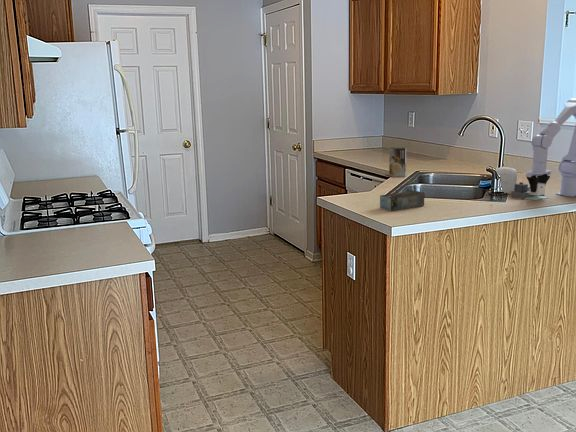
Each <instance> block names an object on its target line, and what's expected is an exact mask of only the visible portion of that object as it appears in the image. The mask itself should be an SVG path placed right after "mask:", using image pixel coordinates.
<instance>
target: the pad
mask: <svg viewBox="0 0 576 432" xmlns="http://www.w3.org/2000/svg"><path fill="white" fill-rule="evenodd" d="M525 199H527V200H531V201H539V200H544V199H545V200H546V199H549V197H548V196H545V195H544V196H532V197H526V198H525ZM525 199H524V200H525Z"/></svg>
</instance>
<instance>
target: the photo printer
mask: <svg viewBox="0 0 576 432" xmlns="http://www.w3.org/2000/svg"><path fill="white" fill-rule="evenodd" d="M495 171H497V172H498V173H499V174H500V177H501V186H502V190H503V192H504V193H503V194H506V193H507V195H508V194H509V195H511V191H514V187H515V184H517V182H518V181H517V179H518V170H517V169H515V168H512V167H507V166H506V167H505V166H502V167H497V168H495V170H494V172H495Z"/></svg>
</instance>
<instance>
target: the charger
mask: <svg viewBox="0 0 576 432" xmlns="http://www.w3.org/2000/svg"><path fill="white" fill-rule="evenodd" d="M545 187H546V185H545V184H544V183H538V184H537V190H536V192H531V189H530V188H529V194H531V195H537V196H538V195H544V196H545V192H544V190H545V189H546V188H545ZM545 191H546V190H545Z"/></svg>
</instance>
